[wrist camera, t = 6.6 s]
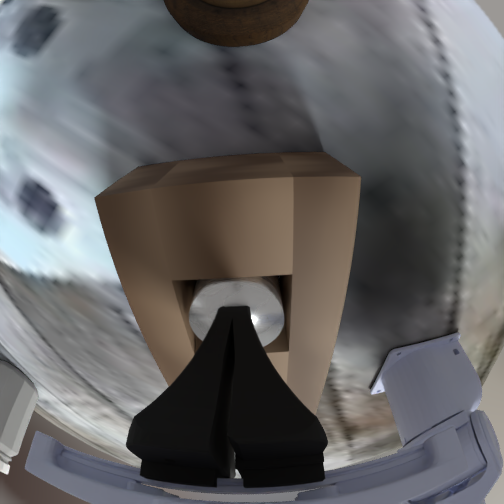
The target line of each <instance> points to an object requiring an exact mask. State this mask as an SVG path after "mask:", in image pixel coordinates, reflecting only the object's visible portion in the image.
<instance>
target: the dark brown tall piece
mask: <svg viewBox="0 0 504 504" xmlns="http://www.w3.org/2000/svg"><path fill="white" fill-rule="evenodd" d="M308 1H309V0H164V3H165V5H166V7H167V9H168V11H169V12H170V14H171V15H172V16H173V18H174V19H175V20H176V21H177V22H178V24H179V25H180V26H181V27H182V28H183V29H184V30H185V31H186V32H188V33H189V34H190V35H192V36H194V37H195V38H197V39H199V40H201V41H204V42H207V43H210V44H214V45H219V46H227V47H240V46H251V45H256V44H260V43H263V42H266V41H269V40H272V39H274V38H276V37H278V36H280V35H281V34H283V33H285V32H286V31H287V30H288V29H290V28H291V27H292V26H293V25H294V24H295V23H296V22H297V20H298V19H299V17H300V16H301V14H302V12H303V10H304V9H305V7H306V5H307V3H308Z"/></svg>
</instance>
